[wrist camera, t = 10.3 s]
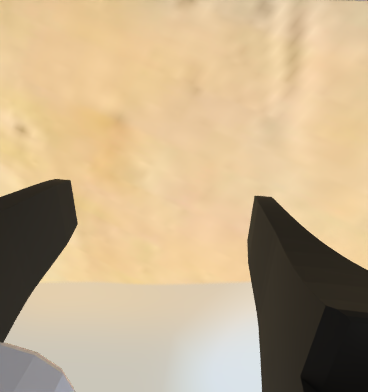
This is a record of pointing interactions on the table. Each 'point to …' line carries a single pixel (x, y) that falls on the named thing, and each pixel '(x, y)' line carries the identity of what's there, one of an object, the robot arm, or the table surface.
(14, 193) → the robot arm
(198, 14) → the table surface
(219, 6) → the table surface
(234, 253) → the table surface
